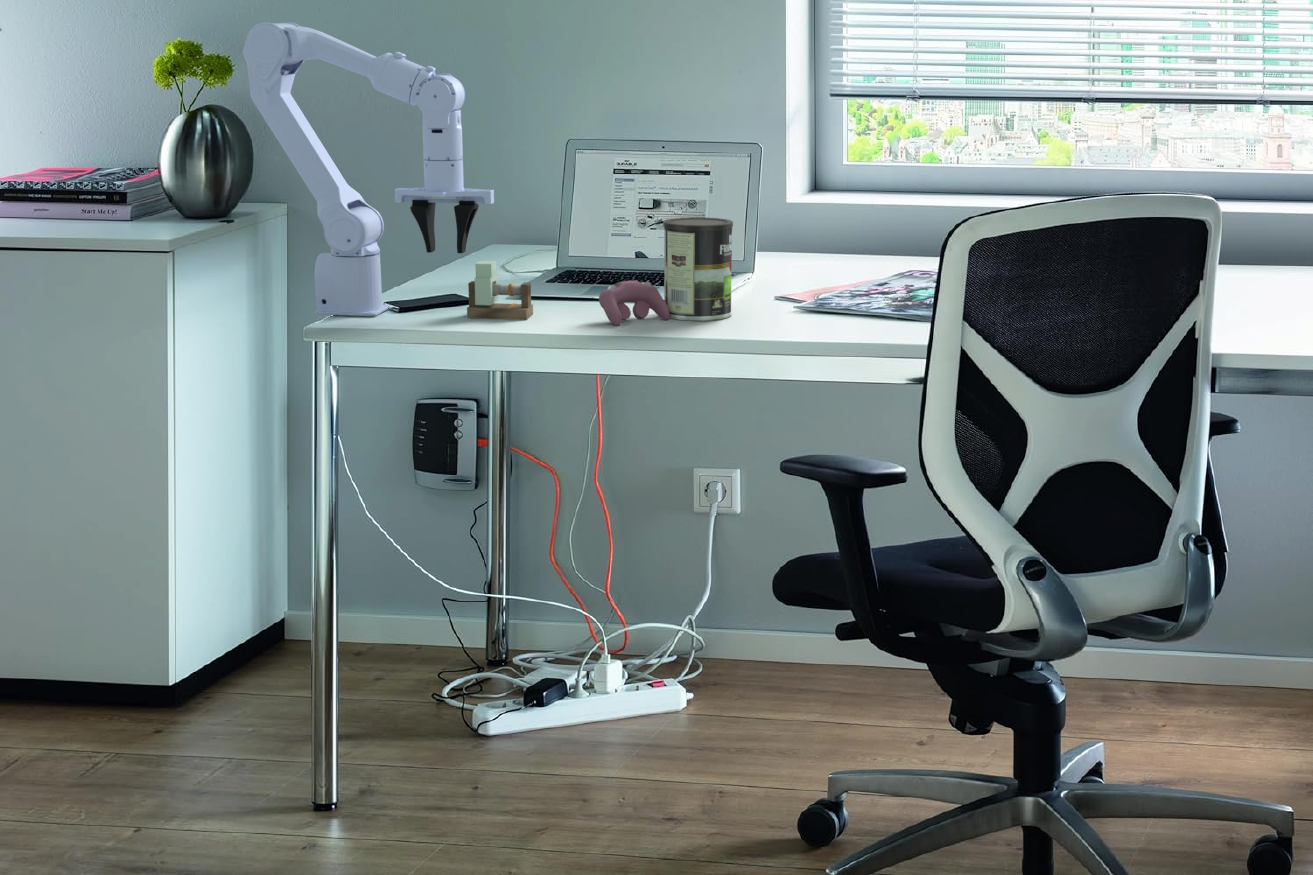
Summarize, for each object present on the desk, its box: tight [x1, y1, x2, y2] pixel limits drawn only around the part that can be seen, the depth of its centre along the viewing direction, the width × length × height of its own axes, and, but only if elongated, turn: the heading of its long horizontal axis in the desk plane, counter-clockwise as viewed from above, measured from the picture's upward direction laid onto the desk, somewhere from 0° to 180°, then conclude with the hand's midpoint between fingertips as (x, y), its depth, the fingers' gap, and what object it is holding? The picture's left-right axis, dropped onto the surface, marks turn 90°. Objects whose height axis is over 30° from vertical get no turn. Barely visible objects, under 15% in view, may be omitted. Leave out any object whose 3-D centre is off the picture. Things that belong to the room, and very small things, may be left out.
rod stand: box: [466, 280, 534, 321], centre depth 231 cm, size 9×4×5 cm, turn 82°
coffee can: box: [662, 216, 734, 322], centre depth 231 cm, size 10×10×14 cm
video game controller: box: [598, 280, 670, 327], centre depth 228 cm, size 10×5×7 cm, turn 123°
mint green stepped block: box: [474, 260, 499, 305], centre depth 231 cm, size 2×4×6 cm, turn 172°
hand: (446, 252), depth 230 cm, fingers open, 4 cm apart
